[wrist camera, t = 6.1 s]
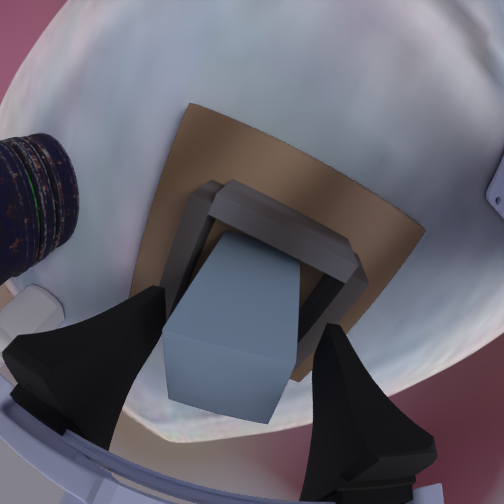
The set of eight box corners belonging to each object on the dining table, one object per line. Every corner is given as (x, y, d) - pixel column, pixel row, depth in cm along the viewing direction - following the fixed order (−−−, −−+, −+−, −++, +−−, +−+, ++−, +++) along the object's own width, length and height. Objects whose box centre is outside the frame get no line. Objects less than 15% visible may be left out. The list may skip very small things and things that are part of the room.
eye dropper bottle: (34, 270, 21) (-46, 340, 10) (70, 311, 22) (-3, 394, 12) (28, 291, 23) (-39, 355, 12) (60, 328, 24) (-2, 401, 13)
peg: (300, 246, 15) (295, 362, 7) (283, 306, 16) (267, 424, 9) (226, 230, 15) (162, 329, 8) (218, 291, 17) (168, 398, 10)
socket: (419, 223, 14) (449, 254, 10) (299, 372, 20) (297, 414, 17) (196, 104, 13) (162, 99, 9) (134, 294, 19) (106, 327, 16)
